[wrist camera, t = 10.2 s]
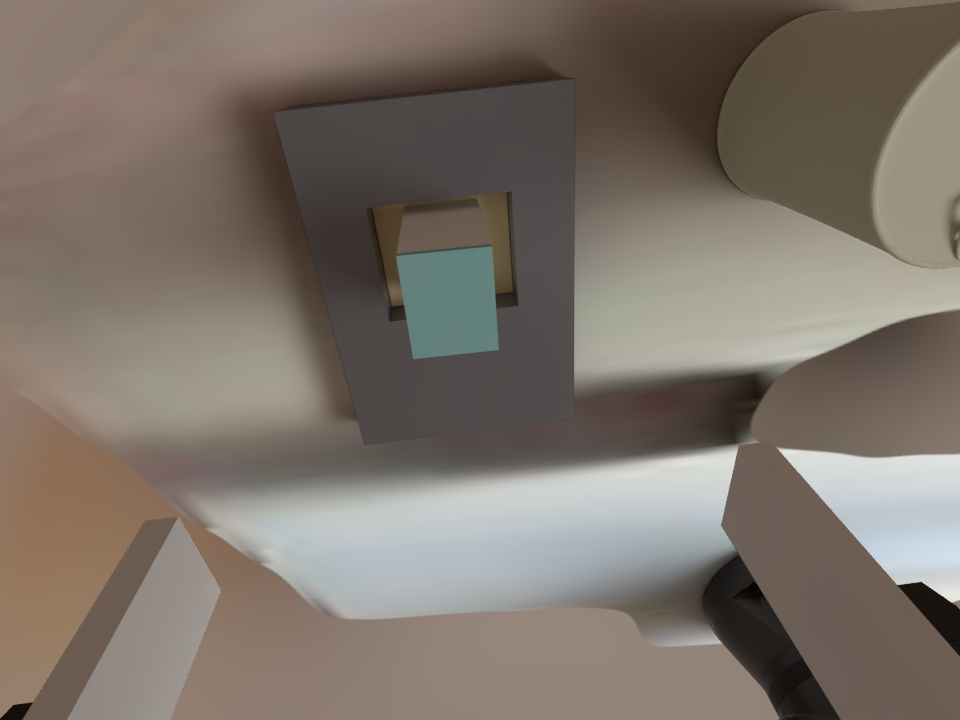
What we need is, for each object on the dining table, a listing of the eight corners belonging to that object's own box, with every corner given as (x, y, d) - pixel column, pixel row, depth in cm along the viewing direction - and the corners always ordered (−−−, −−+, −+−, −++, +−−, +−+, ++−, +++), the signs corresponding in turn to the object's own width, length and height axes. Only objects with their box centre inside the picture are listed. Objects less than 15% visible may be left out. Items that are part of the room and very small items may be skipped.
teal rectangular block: (483, 283, 31) (498, 349, 24) (417, 290, 31) (413, 359, 24) (477, 199, 28) (492, 246, 21) (404, 206, 28) (396, 256, 21)
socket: (565, 397, 36) (573, 419, 34) (368, 422, 36) (364, 445, 34) (563, 76, 26) (575, 78, 24) (286, 107, 26) (272, 112, 23)
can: (711, 214, 30) (855, 297, 20) (720, 32, 25) (916, 19, 15) (867, 181, 30) (1093, 248, 20) (906, -8, 25) (1231, -50, 15)
